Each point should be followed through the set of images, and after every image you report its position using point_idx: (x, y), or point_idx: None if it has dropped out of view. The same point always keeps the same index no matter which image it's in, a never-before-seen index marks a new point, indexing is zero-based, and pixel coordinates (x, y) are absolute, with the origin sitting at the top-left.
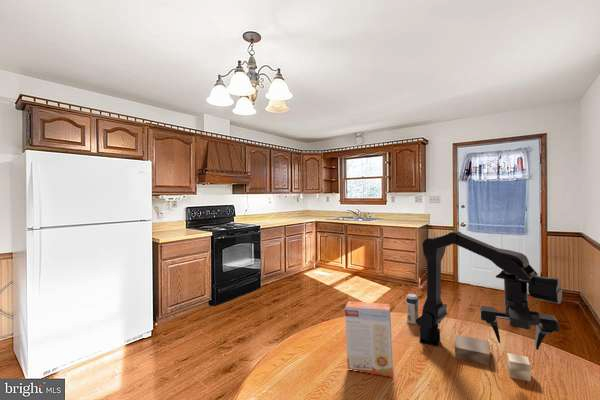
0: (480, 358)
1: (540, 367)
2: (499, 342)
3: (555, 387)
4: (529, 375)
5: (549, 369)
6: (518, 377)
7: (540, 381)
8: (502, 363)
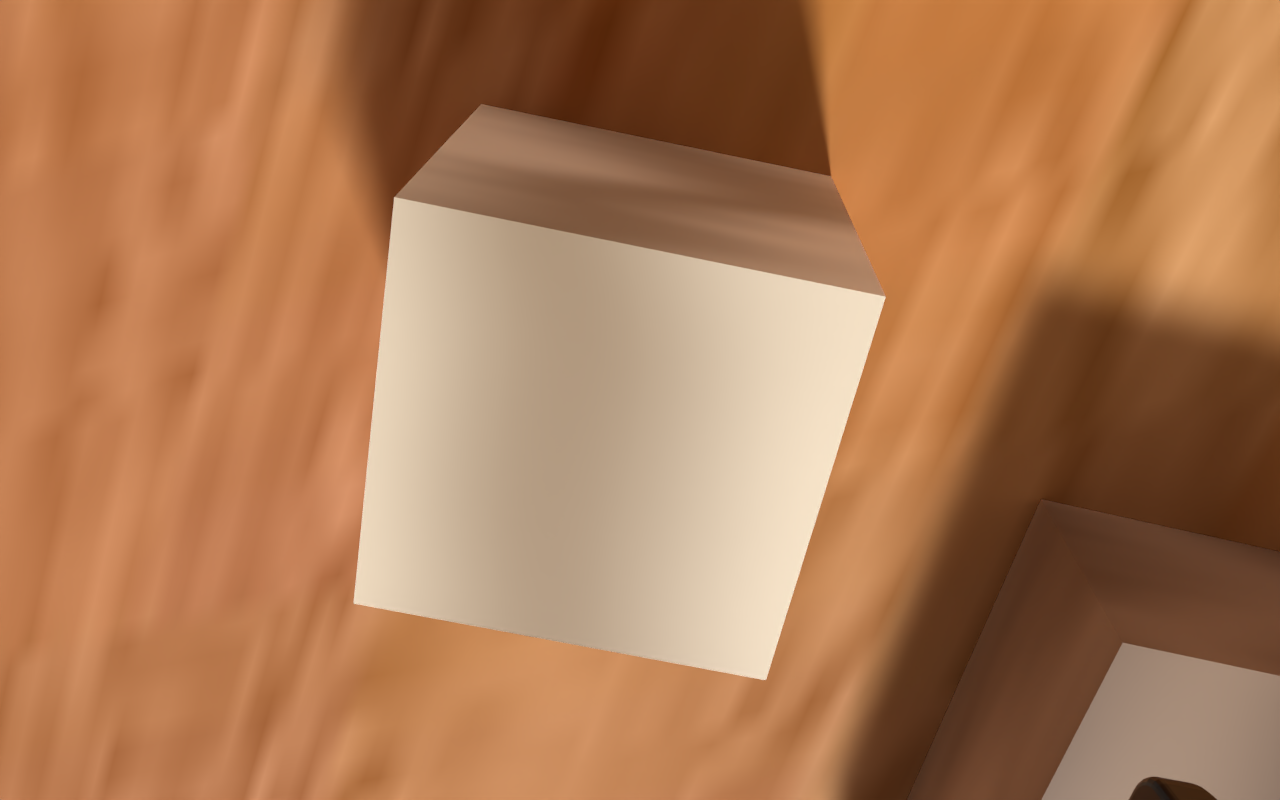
0: (1244, 591)
1: (184, 623)
2: (1183, 784)
3: (86, 18)
4: (479, 134)
5: (61, 595)
6: (687, 152)
7: (301, 167)
8: None
